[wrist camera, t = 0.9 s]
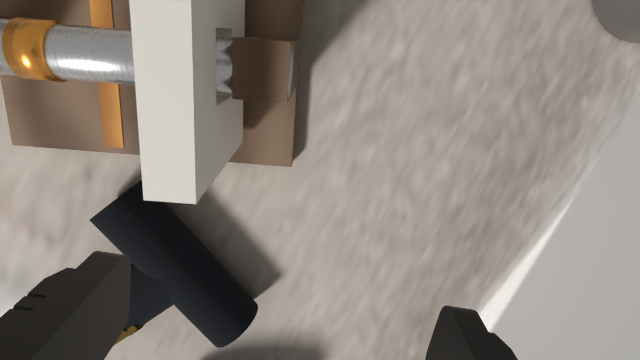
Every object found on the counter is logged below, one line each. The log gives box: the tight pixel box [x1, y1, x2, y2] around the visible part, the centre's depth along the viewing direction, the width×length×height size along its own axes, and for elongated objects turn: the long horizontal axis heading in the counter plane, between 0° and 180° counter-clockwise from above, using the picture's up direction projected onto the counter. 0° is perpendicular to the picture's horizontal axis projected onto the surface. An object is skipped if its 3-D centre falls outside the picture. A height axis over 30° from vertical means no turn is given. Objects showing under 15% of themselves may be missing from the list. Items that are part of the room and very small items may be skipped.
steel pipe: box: [0, 17, 293, 97], centre depth 23 cm, size 22×3×3 cm, turn 85°
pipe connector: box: [90, 180, 258, 347], centre depth 35 cm, size 12×5×15 cm
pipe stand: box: [0, 0, 303, 167], centre depth 26 cm, size 22×16×10 cm
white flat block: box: [129, 0, 245, 204], centre depth 23 cm, size 2×12×12 cm, turn 175°
